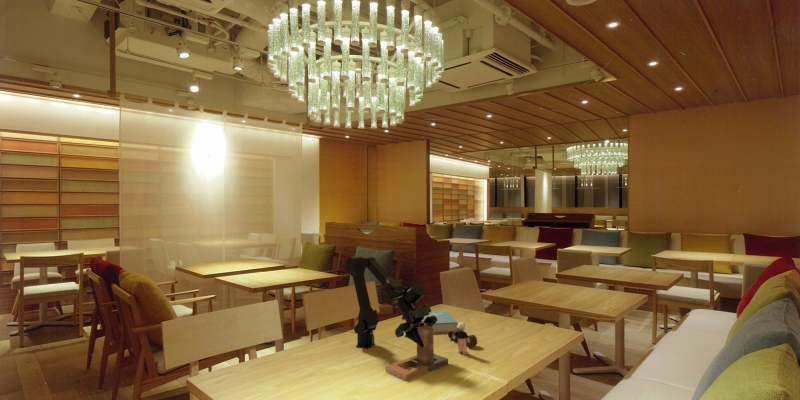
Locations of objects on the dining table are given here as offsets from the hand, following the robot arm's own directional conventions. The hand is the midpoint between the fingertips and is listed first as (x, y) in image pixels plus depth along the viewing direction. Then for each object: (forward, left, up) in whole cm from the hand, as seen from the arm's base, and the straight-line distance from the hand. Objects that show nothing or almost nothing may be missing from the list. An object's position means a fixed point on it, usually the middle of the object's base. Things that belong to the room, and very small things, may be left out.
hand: (427, 345), depth 157 cm
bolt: (+6, +30, -8) cm, 32 cm away
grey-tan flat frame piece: (-3, -3, -8) cm, 9 cm away
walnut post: (-1, +1, -7) cm, 7 cm away
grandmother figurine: (+9, +17, -8) cm, 21 cm away
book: (-11, +52, -9) cm, 54 cm away
